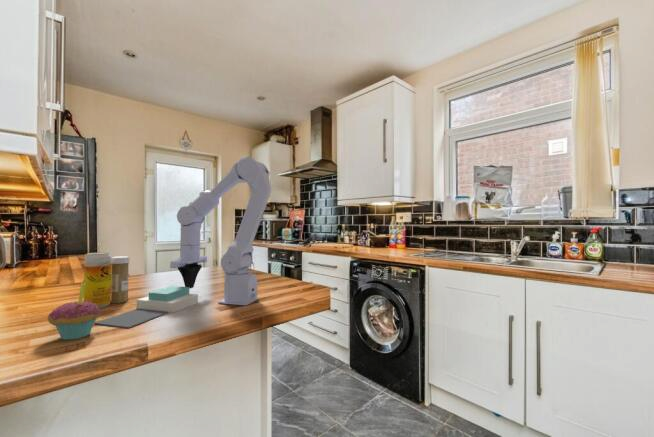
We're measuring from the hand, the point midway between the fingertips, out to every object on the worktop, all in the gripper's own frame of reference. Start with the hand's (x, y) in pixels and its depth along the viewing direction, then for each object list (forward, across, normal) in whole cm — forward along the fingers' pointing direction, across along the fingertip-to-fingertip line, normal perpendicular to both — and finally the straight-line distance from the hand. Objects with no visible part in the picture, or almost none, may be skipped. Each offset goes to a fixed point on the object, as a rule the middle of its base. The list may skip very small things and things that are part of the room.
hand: (189, 287), depth 94 cm
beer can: (+3, +15, -18) cm, 24 cm away
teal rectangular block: (+1, +8, 0) cm, 8 cm away
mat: (+3, +20, 0) cm, 21 cm away
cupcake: (+3, +33, -2) cm, 33 cm away
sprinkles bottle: (+3, +9, -17) cm, 20 cm away
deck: (+3, +9, 0) cm, 9 cm away
